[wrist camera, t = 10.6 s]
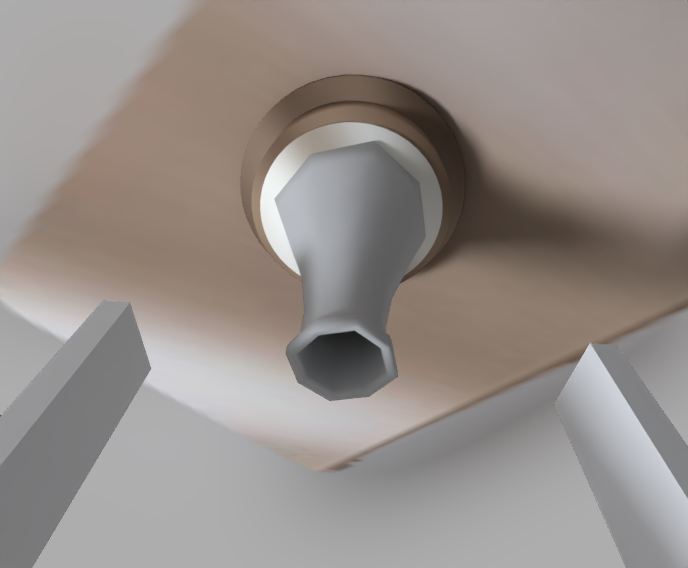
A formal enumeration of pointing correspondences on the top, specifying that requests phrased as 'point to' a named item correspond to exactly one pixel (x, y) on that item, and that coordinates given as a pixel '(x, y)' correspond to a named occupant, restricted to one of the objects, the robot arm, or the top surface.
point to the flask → (349, 264)
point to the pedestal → (345, 130)
